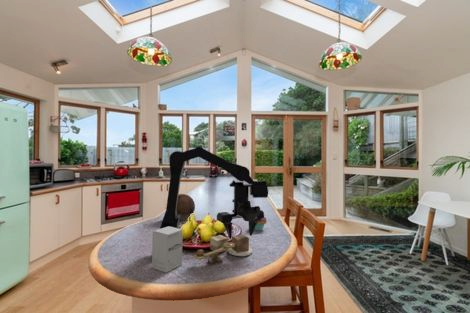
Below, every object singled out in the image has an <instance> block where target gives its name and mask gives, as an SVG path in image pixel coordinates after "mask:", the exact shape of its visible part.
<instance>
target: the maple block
mask: <svg viewBox="0 0 470 313" xmlns="http://www.w3.org/2000/svg"><path fill="white" fill-rule="evenodd" d="M228 239H229V237H227V236H224V235H221V234H218V235H215V236H211V237H210V242H209V243H210V246H209V249H210V251H211V252H212V251H214V250H217V249H220V248H222V247H224V246H223V244H224V243H226V242H229V241H228ZM224 252H228V249H227V250H225V251H222V252H219V253H218V254H220V253H224Z"/></svg>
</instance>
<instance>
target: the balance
mask: <svg viewBox="0 0 470 313" xmlns="http://www.w3.org/2000/svg"><path fill="white" fill-rule="evenodd" d="M223 246H224V247H222V248H220V249H217V250H214V251H212V250H211V251H209V252H206V253H205V251H204V250H205V249H197V250H196V253H194V255H193V258H194V259H196V260H200V261H201V260H204V259H206V258H207V263H208V264H209V265H210V266H213V265H218V264H222V263H223V259H222V258H221V257H220V256H219V254H220V253H223V252H222V251H224V252H226V251H225V250H227V249H230V248H233V247H235V243H232V241H231V242H230V241H228V242H226V243H224V244H223ZM227 251H228V250H227ZM219 252H220V253H219ZM208 257H210V258H208Z"/></svg>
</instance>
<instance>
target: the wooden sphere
mask: <svg viewBox="0 0 470 313" xmlns="http://www.w3.org/2000/svg"><path fill="white" fill-rule="evenodd" d="M195 209H196V204H195V201H194V199H193V198H192V196H190V195H188V194H185V193H179V195H178V202H177V215H180V219H179V221H186V220H188V219H189V218H190V217H189V216H190V214H191V213H193V214H194V213H195ZM188 217H189V218H188Z"/></svg>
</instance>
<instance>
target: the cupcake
mask: <svg viewBox="0 0 470 313" xmlns="http://www.w3.org/2000/svg"><path fill="white" fill-rule="evenodd" d="M267 222H268V220H267V218H266V217H265V216H264V218H261V220H260V221H258V222H257V224H256V226H255V228H254V231H262V230H264V226H265V224H267Z"/></svg>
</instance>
